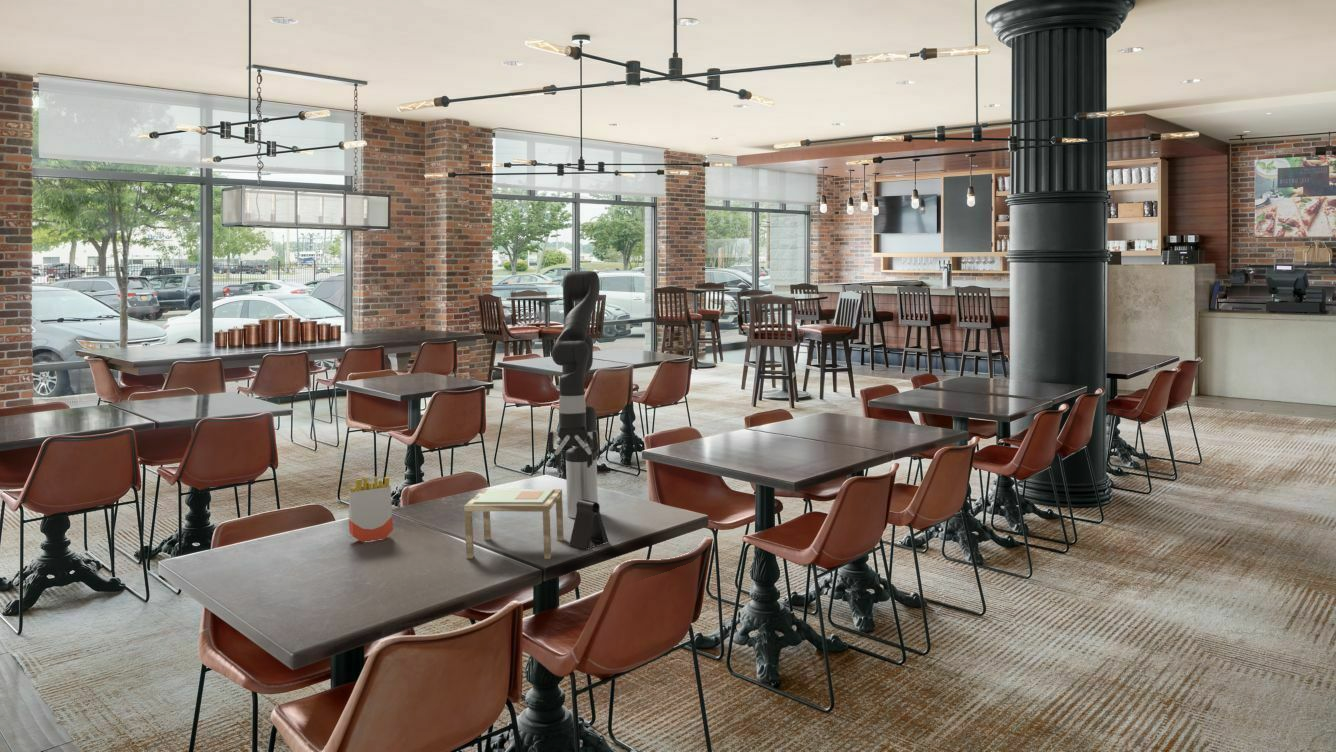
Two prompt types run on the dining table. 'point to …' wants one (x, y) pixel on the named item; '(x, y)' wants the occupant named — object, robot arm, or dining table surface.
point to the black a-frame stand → (588, 526)
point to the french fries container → (370, 510)
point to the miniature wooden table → (486, 509)
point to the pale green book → (514, 496)
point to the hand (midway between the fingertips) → (573, 467)
